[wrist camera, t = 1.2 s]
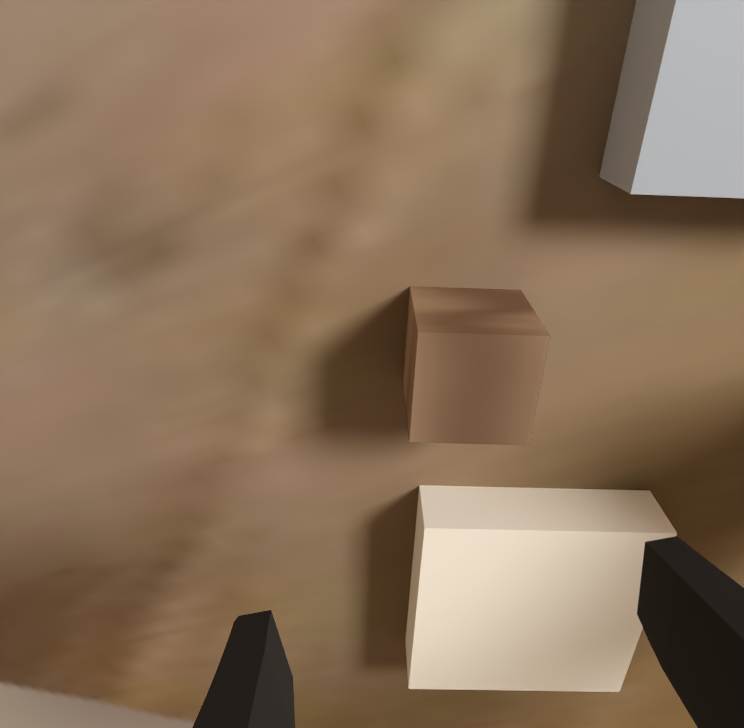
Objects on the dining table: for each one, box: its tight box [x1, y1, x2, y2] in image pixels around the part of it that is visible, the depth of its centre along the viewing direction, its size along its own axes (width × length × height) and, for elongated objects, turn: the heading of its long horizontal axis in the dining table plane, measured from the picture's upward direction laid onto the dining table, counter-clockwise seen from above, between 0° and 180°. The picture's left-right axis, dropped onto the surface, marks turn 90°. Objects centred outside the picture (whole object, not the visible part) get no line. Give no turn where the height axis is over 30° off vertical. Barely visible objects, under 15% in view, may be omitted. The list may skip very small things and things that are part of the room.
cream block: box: [405, 485, 677, 692], centre depth 27 cm, size 10×10×3 cm
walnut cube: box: [403, 287, 550, 445], centre depth 21 cm, size 4×4×4 cm
